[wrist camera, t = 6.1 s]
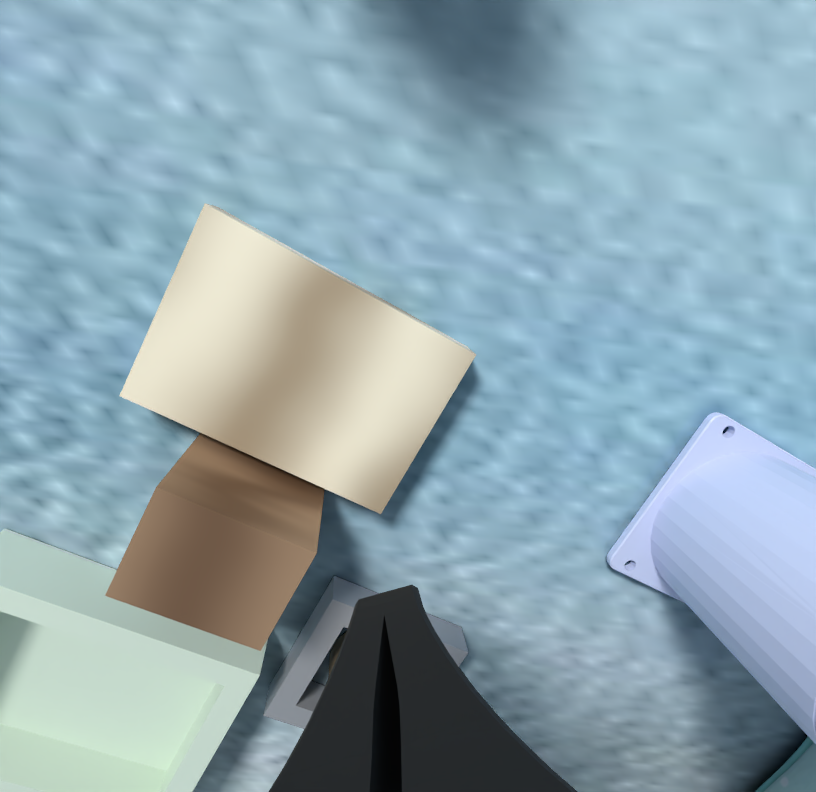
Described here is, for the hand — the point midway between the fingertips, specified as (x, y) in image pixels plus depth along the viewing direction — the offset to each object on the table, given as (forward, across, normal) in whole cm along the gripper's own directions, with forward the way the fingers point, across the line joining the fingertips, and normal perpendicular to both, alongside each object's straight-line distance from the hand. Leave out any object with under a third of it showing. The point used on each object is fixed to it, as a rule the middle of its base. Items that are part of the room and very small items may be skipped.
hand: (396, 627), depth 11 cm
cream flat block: (+10, +2, -4) cm, 11 cm away
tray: (+9, +14, +6) cm, 18 cm away
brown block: (+9, +6, 0) cm, 11 cm away
